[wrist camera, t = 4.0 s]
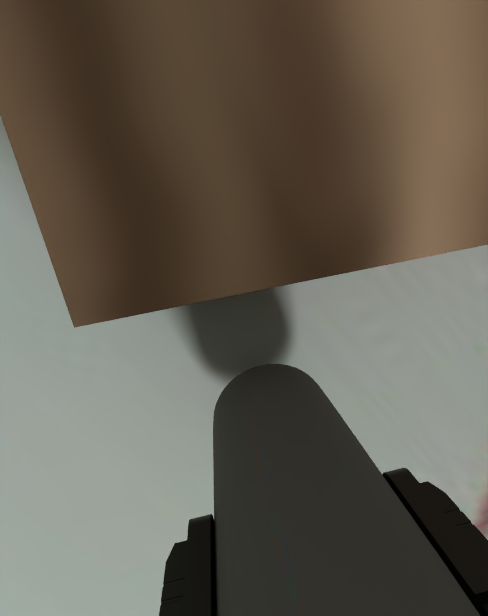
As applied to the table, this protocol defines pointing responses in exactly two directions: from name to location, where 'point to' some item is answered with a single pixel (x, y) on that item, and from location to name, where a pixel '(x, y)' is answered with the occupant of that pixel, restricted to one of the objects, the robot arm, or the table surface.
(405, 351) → the table surface
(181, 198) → the wooden box
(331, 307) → the table surface
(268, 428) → the bottle
